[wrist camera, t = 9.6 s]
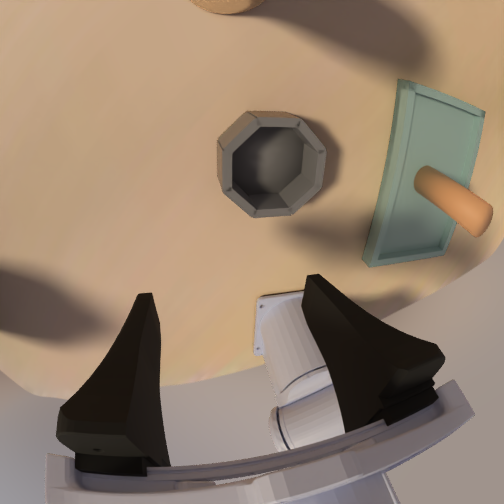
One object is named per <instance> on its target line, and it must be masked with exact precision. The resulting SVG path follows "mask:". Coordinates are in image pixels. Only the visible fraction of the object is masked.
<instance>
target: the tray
mask: <svg viewBox="0 0 504 504" xmlns="http://www.w3.org/2000/svg"><path fill="white" fill-rule="evenodd" d="M484 117H485V111H483V110H481V109H479V108H477V107H475V106H473V105H470V104H468V103H466V102H464V101H461V100H459V99H457V98H454V97H452V96H450V95H447V94H445V93H442V92H439V91H437V90H434V89H431V88H429V87H426V86H423V85H420V84H417V83H414V82H411V81H407V80H401V79H398V83H397V92H396V101H395V108H394V115H393V122H392V129H391V135H390V141H389V147H388V152H387V158H386V163H385V168H384V173H383V178H382V182H381V187H380V191H379V196H378V200H377V204H376V208H375V212H374V216H373V220H372V224H371V228H370V232H369V236H368V239H367V243H366V246H365V250H364V253H363V257H362V259H363V261H364V262H365V263H366V264H367V266H368V267H376V266H383V265H389V264H395V263H402V262H408V261H414V260H420V259H426V258H432V257H437V256H443V255H444V254H445V252H446V250H447V247H448V245H449V242H450V240H451V237H452V234H453V232H454V229H455V226H456V224H457V222H456V221H455V220H454V219H452V218H451V217H450V216H448V215H447V214H446V213H445V212H443V211H442V210H441V209H439V208H438V207H437V206H435V205H434V204H433V203H431V202H430V201H429V200H427V199H426V198H424V197H423V196H422V195H420V194H419V193H417V192H416V190H415V188H414V178H415V175H416V173H417V172H418V170H419V169H420V168H422V167H423V166H426V165H428V166H431V167H433V168H434V169H436V170H438V171H439V172H441V173H443V174H444V175H446V176H448V177H449V178H451V179H453V180H454V181H456V182H457V183H459V184H460V185H462V186H464V187H465V188H467V189H468V187H469V184H470V180H471V177H472V173H473V169H474V165H475V161H476V157H477V153H478V148H479V144H480V139H481V134H482V129H483V123H484Z"/></svg>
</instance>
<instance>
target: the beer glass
mask: <svg viewBox="0 0 504 504" xmlns="http://www.w3.org/2000/svg"><path fill="white" fill-rule="evenodd" d="M190 1H191V2H192V3H193V4H195V5H196V6H198V7H199V8H201V9H204V10H206V11H209V12H213V13H218V14H236V13H242V12H245V11H248V10H251V9H253V8H255V7H257V6H258V5H260V4H261V3H262V2H263V1H264V0H190Z"/></svg>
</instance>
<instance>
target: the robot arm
mask: <svg viewBox="0 0 504 504" xmlns="http://www.w3.org/2000/svg"><path fill="white" fill-rule="evenodd" d="M260 305H262V306H260ZM253 352H254V355H255V356H259V355H263V358H264V361H265V364H266V367H267V371H268V374H269V377H270V380H271V384H272V387H273V390H274V393H275V395H276V396H275V399H276V402H277V405H278V406H277V407H274V408H273V409H272V410H271V414H270V417H269V430H270V434H271V437H272V440H273V443H274V445H275V447H276V449H277V451H278V453H274V454H269V455H264V456H259V457H254V458H248V459H242V460H235V461H228V462H221V463H212V464H202V465H191V466H176V467H175V466H174V467H171V465H170V460H169V455H168V450H167V445H166V439H165V432H164V426H163V418H162V411H161V401H160V356H161V332H160V322H159V318H158V314H157V311H156V307H155V303H154V299H153V295H152V293H141V294H138V295H137V297H136V300H135V302H134V304H133V307H132V309H131V311H130V313H129V315H128V317H127V319H126V321H125V323H124V325H123V327H122V329H121V331H120V333H119V335H118V336H117V338H116V340H115V342H114V344H113V345H112V347H111V348H110V350H109V352H108V353H107V355H106V356H105V358H104V359H103V361H102V362H101V363H100V365H99V366H98V367H97V369H96V370H95V371H94V373H93V374H92V375H91V377H90V378H89V379H88V380H87V381H86V382H85V383H84V384H83V386H82V387H81V388H80V389H79V390H78V391H77V392H76V393H75V394H74V395H73V396H72V397H71V398H70V399H69V400H68V401H67V402H66V403H65V404H64V405H62V406H61V407H60V411H59V415H58V421H57V431H56V437H57V439H58V440H59V441H60V442H61V443H62V444H64V445H65V446H66V447H68V448H69V449H71V450H72V451H74V452H75V459H74V458H71V457H67V456H61V455H55V454H50V453H48V454H46V468H45V503H46V504H400V502H399V500H398V498H397V496H396V493H395V491H394V489H393V487H392V484H391V483H390V480H389V478H388V476H387V474H386V472H387V471H389V470H391V469H393V468H395V467H397V466H399V465H401V464H402V463H404V462H406V461H408V460H410V459H412V458H413V457H415V456H417V455H419V454H420V453H422V452H424V451H425V450H427V449H429V448H430V447H432V446H433V445H435V444H437V443H438V442H440V441H441V440H443V439H444V438H446V437H448V436H449V435H450V434H452V433H453V432H454V431H456V430H457V429H458V428H460V427H461V426H462V425H463V424H465V423H466V422H467V421H469V420H470V419H471V418H472V417H474V416H475V413H474V411H473V410H472V408H471V406H470V404H469V403H468V401H467V399H466V398H465V396H464V394H463V393H462V391H461V389H460V388H459V386H458V385H457V383H456V381H455V380H451V381H449V382H447V383H446V384H444V385H442V386H440V387H439V388H438V389H436V390H434V388H433V386H434V384H435V382H434V381H433V379H432V377H433V376H434V375H435V374H436V373H437V372H438V370H439V369H440V368H441V367H442V365H443V364H444V362H445V356H444V355H443V353H442V352H441V350H440V349H439V347H438V346H437V345H436V344H434V343H431V342H428V341H425V340H421V339H419V338H416V337H413V336H411V335H408V334H406V333H404V332H401V331H399V330H397V329H395V328H393V327H391V326H389V325H388V324H385V323H384V322H382V321H381V320H379V319H377V318H376V317H374V316H372V315H371V314H369V313H368V312H366V311H365V310H364V309H362V308H361V307H359V306H358V305H357V304H355V303H354V302H353V301H351V300H350V299H349V298H348V297H346V296H345V295H344V294H343V293H341V292H340V291H339V290H338V289H337V288H335V287H334V286H333V285H332V284H331V283H329V282H328V281H327V280H326V279H325V278H323V277H322V276H321V275H320V274H314V275H307V278H306V284H305V289H304V291H300V292H293V293H286V294H279V295H271V296H264V297H260V298H258V299H257V304H256V319H255V335H254V350H253ZM288 467H289V468H288ZM284 468H285V469H284ZM280 469H281V470H280ZM276 470H277V471H276ZM271 471H274V472H271ZM266 472H270V473H266ZM261 473H266V474H264V475H261V476H258V477H254V478H250V479H245V480H241V481H236V482H231V483H225V484H220V485H216V484H215V482H213V481H215V480H224V479H232V478H238V477H245V476H250V475H256V474H261Z"/></svg>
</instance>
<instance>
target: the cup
mask: <svg viewBox="0 0 504 504" xmlns="http://www.w3.org/2000/svg"><path fill="white" fill-rule="evenodd" d="M326 153H327V150H326V148H325V147H324V145H323V144H322V143H321V142H320V140H319V139H318V138H317V137H316V135H315V134H314V133H313V132H312V131H311V129H310V128H309V127H308V126H307V125H306V123H305V122H304V121H303V120H302V119H301V118H298V117H296V116H294V115H291V114H289V113H287V112H277V111H247V112H245V113H244V114H243V115H242V116H240V117H239V118H238V119H237V120H236V121H235V122H234V123H233V124H232V125H231V126H230V127H229V128H228V129H227V130H226V131H225V132H224V133H223V134H222V135H221V136H220V137H219V138H218V140H217V176H218V180H219V183H220V186H221V189H222V192H223V193H224V194H225V195H226V196H227V197H228V198H230V199H231V200H232V201H233V202H234V203H235V204H237V205H238V206H239V207H240V208H241V209H242V210H244V211H245V212H246V213H247V214H248V215H249V216H251V217H253V218H261V217H275V216H291V214H292V215H293V214H294V213H295V212H296V211H297V210H299V209H300V208H301V207H302V206H303V205H304V204H305V203H306V202H307V201H308V200H310V199H311V198H312V197H313V196H314V195H315V194H316V193H317V192H318V191H319V190H321V188H322V183H323V176H324V169H325V161H326Z"/></svg>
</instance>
